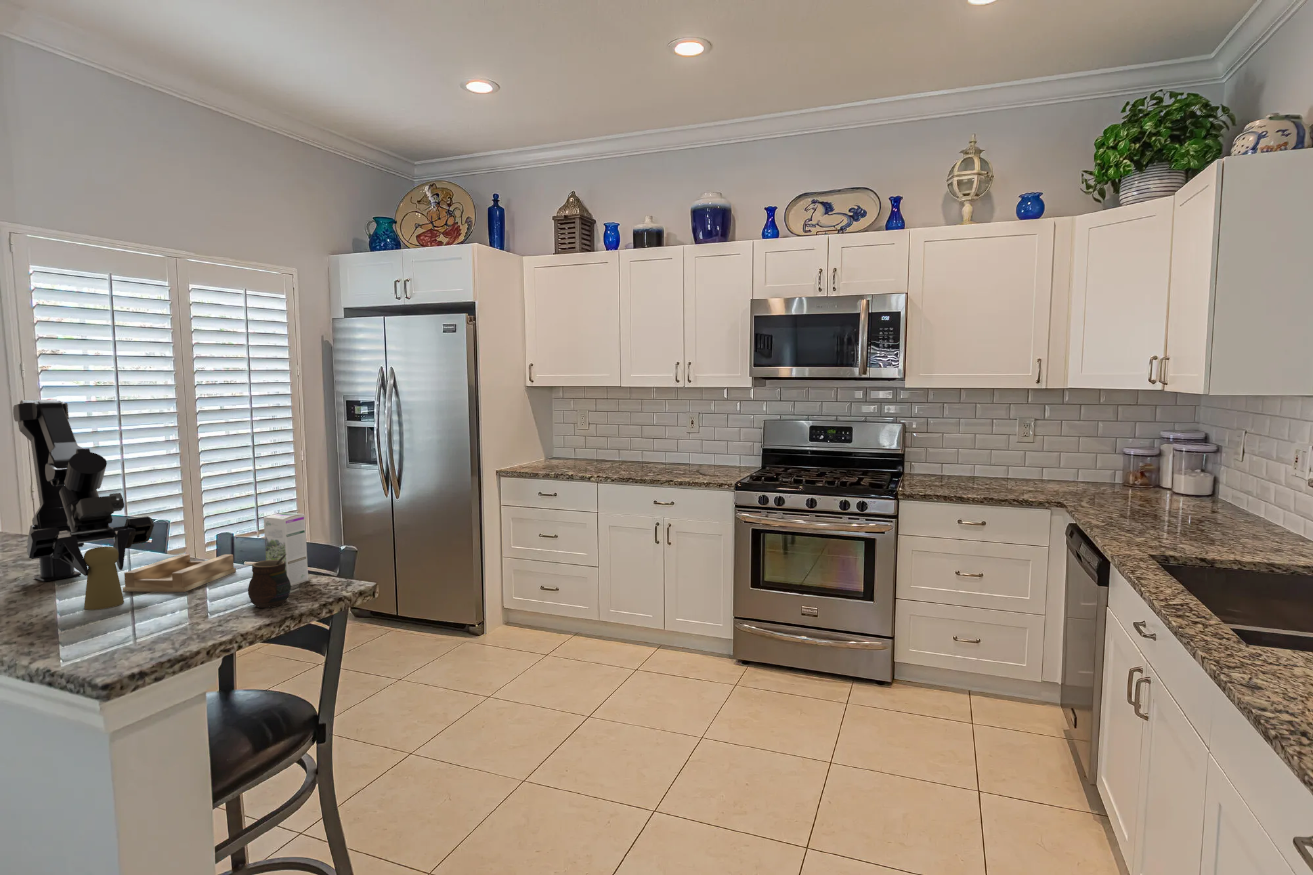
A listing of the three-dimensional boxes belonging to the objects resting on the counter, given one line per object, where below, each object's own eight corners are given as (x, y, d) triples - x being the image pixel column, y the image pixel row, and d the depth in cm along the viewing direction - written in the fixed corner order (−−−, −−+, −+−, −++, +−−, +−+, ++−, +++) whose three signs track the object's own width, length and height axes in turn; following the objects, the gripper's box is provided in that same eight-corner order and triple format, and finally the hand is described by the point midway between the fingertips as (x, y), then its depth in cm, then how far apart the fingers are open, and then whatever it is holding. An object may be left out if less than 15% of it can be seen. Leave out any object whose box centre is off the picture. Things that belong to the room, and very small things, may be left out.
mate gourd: (264, 598, 139) (262, 547, 138) (301, 599, 138) (299, 548, 137) (239, 609, 131) (237, 556, 131) (277, 611, 131) (276, 557, 130)
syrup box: (309, 580, 151) (306, 512, 150) (286, 587, 146) (283, 517, 145) (288, 578, 153) (285, 511, 152) (265, 585, 148) (262, 516, 147)
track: (179, 570, 160) (179, 554, 160) (236, 571, 159) (235, 554, 159) (123, 591, 144) (121, 572, 144) (185, 591, 143) (184, 573, 143)
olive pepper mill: (102, 610, 132) (98, 551, 131) (75, 608, 133) (71, 550, 132) (132, 600, 137) (128, 544, 137) (106, 599, 139) (102, 543, 138)
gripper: (26, 486, 129) (46, 555, 123) (148, 475, 143) (171, 536, 137) (18, 524, 134) (37, 592, 128) (137, 510, 149) (158, 571, 143)
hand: (104, 571), depth 134 cm, fingers closed on olive pepper mill, 5 cm apart
